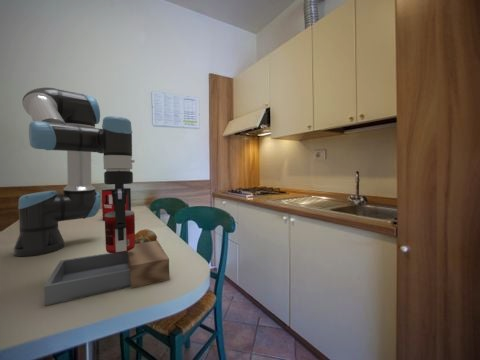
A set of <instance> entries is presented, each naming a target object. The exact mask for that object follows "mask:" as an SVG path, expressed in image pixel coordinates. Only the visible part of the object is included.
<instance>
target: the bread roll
mask: <svg viewBox="0 0 480 360" xmlns="http://www.w3.org/2000/svg"><path fill="white" fill-rule="evenodd" d="M152 241H158V236H157V235H156V233H155V232H154V231H153V230H151V229H147V228H145V229H140V230H139V231H137V232H135V244H138V243H145V242H152Z"/></svg>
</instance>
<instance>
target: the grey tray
mask: <svg viewBox="0 0 480 360" xmlns="http://www.w3.org/2000/svg"><path fill="white" fill-rule="evenodd" d="M126 288H131V276H130V269H128V260H127V251H126V252H122V253H108V252H107V253H102V254H94V255H88V256H81V257H76V258H69V259H63V260H59V262H58V264H57V265H56V267H55V269H54V270H53V272H52V273H51V275H50V277H49V278H48V280H47V282H46V283H45V285H44V289H43V291H44V306H50V305H54V304H59V303H63V302H67V301H72V300H77V299H81V298H86V297H90V296H94V295H98V294H99V295H100V294H103V293H108V292H113V291H116V290H121V289H126Z"/></svg>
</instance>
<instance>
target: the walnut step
mask: <svg viewBox="0 0 480 360" xmlns="http://www.w3.org/2000/svg"><path fill="white" fill-rule="evenodd" d="M168 256H169V255H167V253H166V252H165V250H164V249H163V247H162V245H161V244H160V241H158V240H157V241H152V242H145V243H138V244H135V247H134V248H133V249H132V250H129V251H127V260H128V269H130V276H131V287H130V289H133V288H138V287H141V286H147V285H151V284H155V283H158V282H159V283H160V282H164V281H168V280H170V258H169V257H168Z"/></svg>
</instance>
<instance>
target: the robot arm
mask: <svg viewBox="0 0 480 360" xmlns="http://www.w3.org/2000/svg"><path fill="white" fill-rule="evenodd" d="M22 106H23V109H24V111H25V112H26V114H27V115H30V117H31V119H32V121H31V122H30V123H29V124H28V140H29V145H30V147H31V148H32V149H34V150H45V151H64V152H66V155H67V156H66V158H67V159H66V163H67V164H66V167H67V169H66V170H67V172H66V173H67V185H65V187H64V188H63V189H62V190H63V191H62V193H58V191H57V190H47V191H44V190H43V191H38V192H32V193H29V194H23V195H21V196H20V197H19V199H18V207H17V209H18V223H19V235H18V237H17V239H16V243H15V245H14V246H13V255H14V256H15V257H33V256H38V255H44V254H49V253H51V252H52V253H53V252H55V251H58V250H61V249H63V248H64V247H65V241H64V238H63V236H62V234H61V231H60V229H59V222H63V221H66V222H67V221H73V220H79V219H83V220H84V219H88V218H93V217H95V216H96V215H97V214H98V212H99V211H100V207H101V195H100V192H99V191H97V190H96V187H95V186H93V185H92V153H98V154H103V157H102V159H103V160H102V162H103V169H104V170H105V171H104V172H103V179H104V180H103V181H104V184H105V185H114V188H113V189H114V190H112V197H113V205H114V206H115V221H116V225H115V227H113V230H114V229H115V243H116V252H121V251H127V248H126V217H125V205H126V196H127V190H124V188H125V187H124V185H130V184H133V182H134V173H133V171H131V170H133V163H135V159H133V129H132V122H131V121H130V119H129V118H126V117H121V116H114V115H113V116H111V115H110V116H105V117H104V118H103V119H102V124H101V128H97V127H96V125H99V123H100V121H101V109H100V105H99V102H98V101H97V99H96V98H95V97H93V96H92V95H88V94H84V93H78V92H74V91H68V90H64V89H59V88H56V87H55V88H54V87H38V88H35V89H31V90H29V91H28V92H26V93H25V94H24V96H23V98H22ZM118 223H119V224H118Z"/></svg>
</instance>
